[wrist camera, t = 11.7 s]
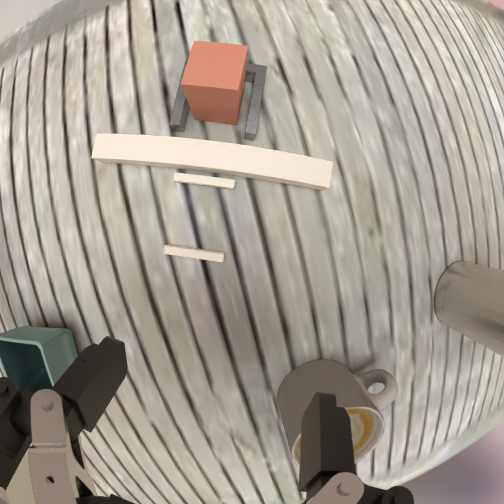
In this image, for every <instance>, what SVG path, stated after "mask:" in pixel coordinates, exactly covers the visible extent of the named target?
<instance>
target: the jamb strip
mask: <svg viewBox="0 0 504 504" xmlns="http://www.w3.org/2000/svg"><path fill="white" fill-rule="evenodd" d="M91 158H93V159H95V160H98V161H100V162H103V163H119V164H133V165H146V166H158V167H168V168H178V169H187V170H196V171H204V172H212V173H220V174H227V175H234V176H241V177H248V178H254V179H260V180H267V181H273V182H278V183H284V184H290V185H295V186H301V187H306V188H311V189H316V190H324V189H327V188H330V182H331V174H332V165H333V162H330V161H326V160H321V159H317V158H312V157H307V156H303V155H298V154H293V153H287V152H282V151H277V150H271V149H265V148H259V147H253V146H246V145H239V144H232V143H225V142H217V141H209V140H200V139H190V138H179V137H166V136H152V135H131V134H96V138H95V143H94V148H93V152H92V157H91ZM174 181H175V182H179V183H188V184H196V185H204V186H212V187H219V188H226V189H233V190H234V185H235V180H231V179H224V178H216V177H209V176H201V175H192V174H184V173H175V175H174ZM224 253H225V252H218V251H211V250H204V249H197V248H190V247H183V246H176V245H169V244H167V245H165V247H164V254H169V255H176V256H183V257H189V258H196V259H203V260H210V261H217V262H223V260H224Z"/></svg>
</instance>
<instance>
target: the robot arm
mask: <svg viewBox="0 0 504 504" xmlns="http://www.w3.org/2000/svg"><path fill="white" fill-rule="evenodd" d="M434 305H435V312H436V315H437V317H438V319H439V320H440V321H441V322H442V323H444V324H445V325H447V326H449V327H451V328H453V329H455V330H456V331H458V332H460V333H462V334H463V335H465V336H467V337H469V338H471V339H472V340H474V341H476V342H478V343H479V344H481V345H483V346H485V347H487V348H488V349H490V350H492V351H494V352H495V353H497V354H499V355H501V356H502V357H504V271H502V270H498V269H494V268H490V267H486V266H482V265H478V264H473V263H469V262H464V261H458V262H455V263H453V264H452V265H451V266H449V267H448V268H447V270H446V271H445V272H444V273H443V275H442V277H441V279H440V281H439V283H438V286H437V289H436V293H435V304H434ZM126 373H127V359H126V352H125V344H124V342H122V341H119V340H117V339H114V338H112V337H109V336H107V337H105V338H104V339H103V340H102V342H101V343H100V344H99V345H97V344H95V343H94V344H92V345H90V346H88V347H86V348H85V349H84V350H83V351H82V352H81V353H80V354H79V356H78V358H76V359H75V360H74V361H73V363H72V365H70V366H69V367H68V369H67V370H66V371H65V372H64V374H63V375H62V376H61V377H60V378H59V380H58V381H57V382H56V383H55V385H54V386H53V387H52V388H51V389H42V390H39V391H37V392H36V393H33V392H29V391H25V390H22V389H18V388H17V386H16V384H15V383H14V381H13V380H12V379H10V378H8V377H0V504H10V503H9V500H8V496H7V493H6V489H7V487H8V485H9V483H10V481H11V479H12V477H13V475H14V473H15V471H16V469H17V467H18V466H19V464H20V462H21V460H22V458H23V457H24V455H25V453H26V451H27V449H28V462H29V469H30V476H31V482H32V488H33V494H34V499H35V503H36V504H134V503H132V502H129V501H127V500H125V499H122V498H120V497H118V496H115V495H113V494H111V495H110V497H104V496H97V493H96V490H95V487H94V484H93V482H92V480H91V478H90V476H89V473H88V470H87V466H86V461H85V457H84V453H83V448H82V443H81V438H80V432H81V431H82V429H85V430H87V431H89V432H92V430H93V429H94V427H95V425H96V424H97V422H98V420H99V419H100V417H101V415H102V414H103V412H104V411H105V409H106V407H107V406H108V404H109V402H110V401H111V399H112V398H113V396H114V394H115V393H116V391H117V390H118V388H119V386H120V385H121V383H122V382H123V380H124V378H125V376H126ZM31 443H32V446H31V447H29V446H30V444H31ZM298 491H303V492H307V495H306V500H304V501H303V502H302V503H301V504H414V499H413V495H412V494H411V492H410V491H409V490H408V489H407V488H405V487H402V486H394V487H392V488H390V489H388V490H383V489H379V488H375V487H371V486H368V485H366V484H364V483H363V482H362V480H361V479H360V478H359V477H358V476H357V474H356V471H355V461H354V450H353V440H352V431H351V422H350V417H349V415H348V413H347V412H346V410H345V408H344V407H337V403H336V396H335V394H331V393H323V392H316V393H315V394H314V396H313V398H312V400H311V402H310V404H309V405H308V407H307V409H306V411H305V413H304V415H303V419H302V425H301V452H300V473H299V489H298Z"/></svg>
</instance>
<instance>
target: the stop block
mask: <svg viewBox="0 0 504 504" xmlns="http://www.w3.org/2000/svg"><path fill="white" fill-rule="evenodd" d="M247 53H248V46H243V45H235V44H227V43H216V42H204V41H194V43H193V46H192V49H191V52H190V55H189V59H188V62H187V65H186V68H185V72H184V75H183V78H182V82H181V86H182V89H183V91H184V94H185V96H186V99H187V101H188V104H189V106H190V109H191V111H192V113H193V116H194V118H195V120H201V121H209V122H217V123H225V124H232V125H237V122H238V117H239V112H240V107H241V102H242V97H243V92H244V85H245V74H246V64H247Z"/></svg>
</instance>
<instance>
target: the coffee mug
mask: <svg viewBox="0 0 504 504" xmlns="http://www.w3.org/2000/svg"><path fill="white" fill-rule="evenodd" d="M377 382H379V383H383V384H384V385H385V388H384V389H383V391H382V392H380V393H378V394H371V393H369V392H368V391H367V389H368V388H369V386H371V385H372V384H374V383H377ZM316 392H323V393H331V394H335V396H336V403H337V407H344V408H345V410H346V412H347V413H348V415H349V417H350V422H351V431H352V440H353V450H354V461H355V463H356V462H358V461H359V460H361V459H362V458H364V457H365V456H366V455H368V454H369V453H370V452H371V451H372V450H373V449H374V448H375V447H376V445H377V444H378V443H379V441H380V439H381V437H382V435H383V433H384V427H385V423H384V419H383V417H382V415H381V413H380V412H379V411H380V410H382V409H383V408H385V407H386V406H388V405H389V404H390V403H391V402H392V401H393V400H394V399H395V398H396V396H397V393H398V387H397V383H396V380H395V379H394V377H393V376H392V375H391V374H390V373H388V372H387V371H385V370H382V369H375V370H371V371H368V372H366V373H364V374H361V375H354V374H352V373H351V372H350V371H349V370H348V368H347V367H346V366H345V365H343V364H342V363H340V362H337V361H334V360H328V359H322V360H314V361H311V362H307V363H305V364H303V365H301V366H299V367H297V368H296V369H294V370H293V371H292V372H291V373H289V374H288V375H287V376H286V378H285V379H284V380H283V382H282V383H281V385H280V388H279V391H278V404H279V408H280V412H281V416H282V421H283V425H284V429H285V433H286V437H287V441H288V445H289V449H290V453H291V456H292V459H293V461H294V462H295V464H296V465H297V466H299V467H300V452H301V425H302V419H303V415H304V413H305V411H306V409H307V407H308V405H309V404H310V402H311V400H312V398H313V396H314V394H315V393H316Z"/></svg>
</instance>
